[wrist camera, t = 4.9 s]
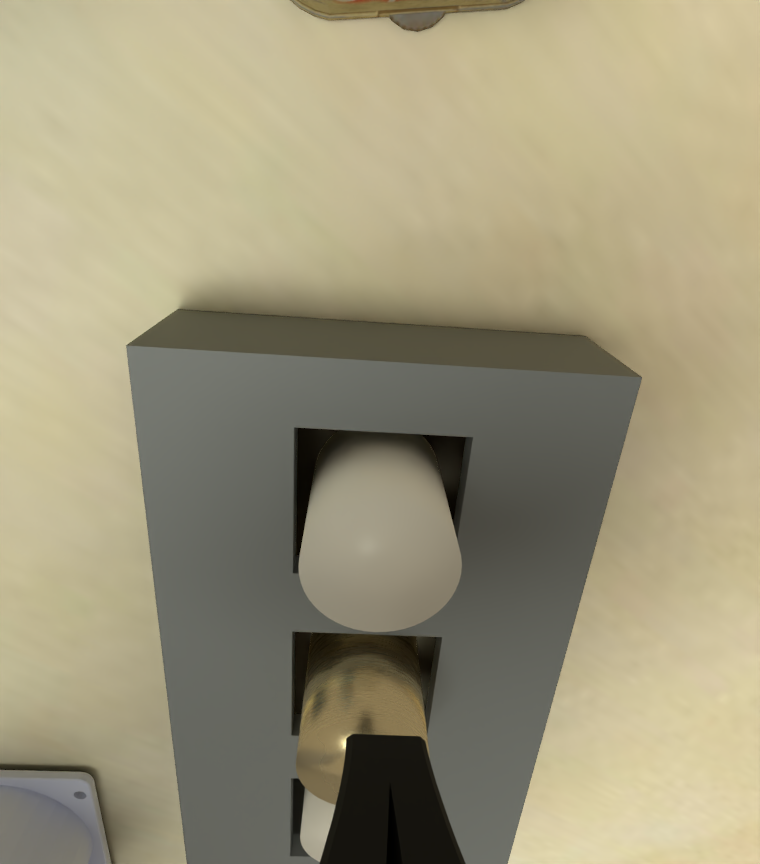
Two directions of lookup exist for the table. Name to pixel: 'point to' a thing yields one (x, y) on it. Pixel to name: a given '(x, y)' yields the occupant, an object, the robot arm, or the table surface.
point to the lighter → (398, 9)
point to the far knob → (315, 824)
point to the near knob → (378, 533)
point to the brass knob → (355, 701)
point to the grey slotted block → (278, 563)
